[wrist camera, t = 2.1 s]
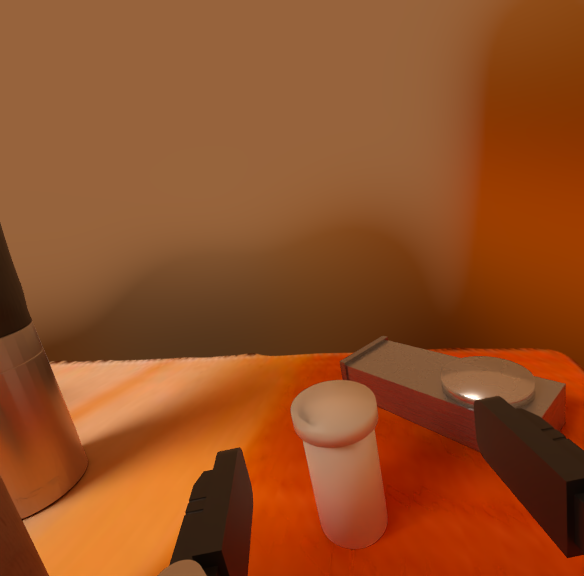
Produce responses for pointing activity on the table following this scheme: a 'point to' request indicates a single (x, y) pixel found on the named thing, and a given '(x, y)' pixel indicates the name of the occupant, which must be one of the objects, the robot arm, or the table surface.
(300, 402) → the white flanged cylinder
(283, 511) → the table surface
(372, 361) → the grey soap dish block
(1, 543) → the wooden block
